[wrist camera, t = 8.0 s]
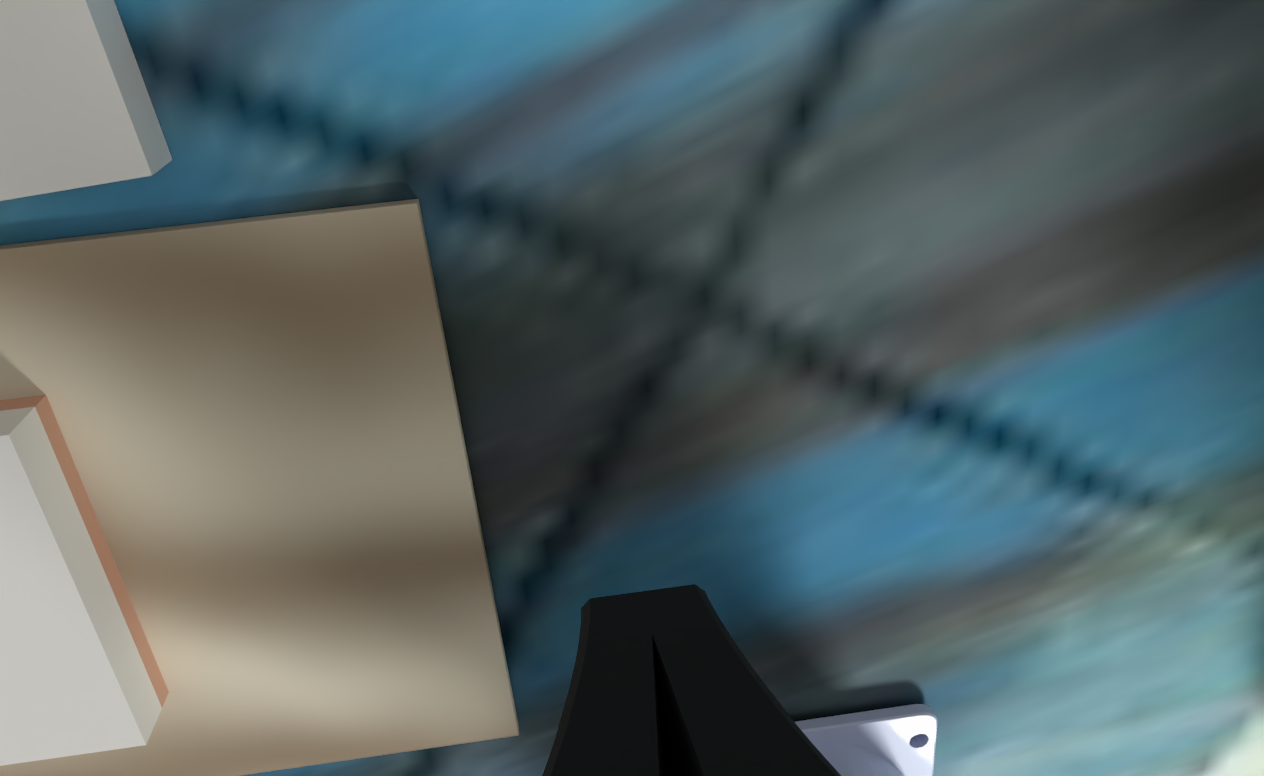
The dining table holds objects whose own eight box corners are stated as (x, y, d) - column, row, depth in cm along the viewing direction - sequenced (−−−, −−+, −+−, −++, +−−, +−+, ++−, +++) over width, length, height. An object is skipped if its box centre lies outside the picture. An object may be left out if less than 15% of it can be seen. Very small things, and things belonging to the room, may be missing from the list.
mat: (518, 726, 25) (518, 735, 25) (-207, 830, 24) (-215, 841, 24) (418, 198, 18) (417, 203, 18) (-583, 310, 17) (-599, 316, 17)
